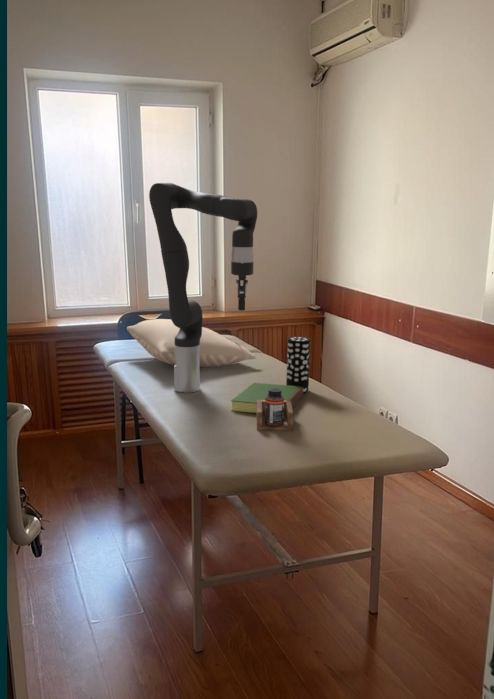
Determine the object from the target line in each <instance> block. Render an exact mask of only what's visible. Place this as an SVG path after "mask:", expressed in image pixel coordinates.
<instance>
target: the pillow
mask: <svg viewBox="0 0 494 699" xmlns="http://www.w3.org/2000/svg"><path fill="white" fill-rule="evenodd" d="M126 330H127V332H128V333H129V334H130V335H131V336H132V337H133V338H134V339H135V340H136V342H138V343H139V345H140V346H142V348H143V349H144V350H145V351H146V352H147V353H149V355H151V356H152V357H153V358H155V359H157V360H159V361H161V362H163V363H166V364H169V365H172V366H175V337H176V335H177V334H178V332H179V330H180V328H178V327H176V326H175V325H174V324H173V322H172V320H171V318H170V319H168V318H155V319H146V320H143V321H140V322H137V323H136V324H134V325H129V326H127V327H126ZM255 359H257V356H256V355H255V354H253V353H252V352H251V351H249V350H248V349H247V348H245V347H243V346H242V345H240V344H238V343H237V342H235V341H233V340H232V339H230V338H228V337H227V336H224V335H222V334H220V333H219V332H216V331H214V330H212V329H210V328H208V327H204V326H202V336H201V338H200V368H201V367H202V368H213V367H224V366H228V365H229V366H230V365H233V364H237V363H241V362H243V361H248V360H255Z"/></svg>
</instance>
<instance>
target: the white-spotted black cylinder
mask: <svg viewBox="0 0 494 699" xmlns="http://www.w3.org/2000/svg"><path fill="white" fill-rule="evenodd" d="M286 349H287V351H286V383H285V385H289V386H302V387H303V395H307V394H308V393H309V386H310V385H309V384H310V382H309V381H310V362H311V361H310V360H311V359H310V357H311V338H310V337H307V336H290V337H287V348H286Z"/></svg>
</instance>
